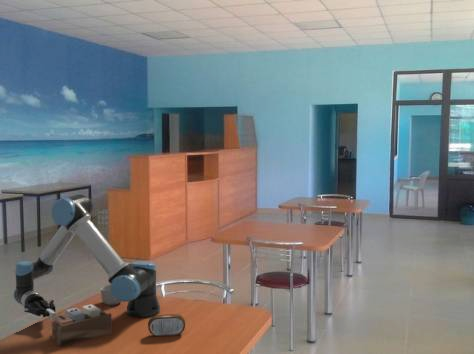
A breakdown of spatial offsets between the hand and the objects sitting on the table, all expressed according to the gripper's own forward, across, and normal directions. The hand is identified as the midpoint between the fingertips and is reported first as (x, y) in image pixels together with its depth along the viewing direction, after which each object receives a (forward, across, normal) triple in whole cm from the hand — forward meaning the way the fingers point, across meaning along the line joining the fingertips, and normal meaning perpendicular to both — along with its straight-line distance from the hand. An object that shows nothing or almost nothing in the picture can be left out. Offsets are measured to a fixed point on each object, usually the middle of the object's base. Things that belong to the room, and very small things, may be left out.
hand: (54, 316), depth 212 cm
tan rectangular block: (+9, 0, -4) cm, 10 cm away
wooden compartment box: (+11, -7, -7) cm, 15 cm away
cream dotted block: (+4, -14, -4) cm, 15 cm away
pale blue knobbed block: (+4, -7, -4) cm, 9 cm away
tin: (+32, -34, -7) cm, 47 cm away
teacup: (-18, -37, -7) cm, 41 cm away
